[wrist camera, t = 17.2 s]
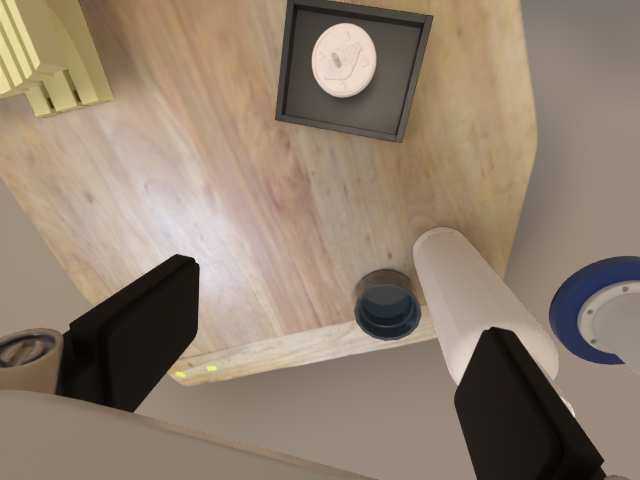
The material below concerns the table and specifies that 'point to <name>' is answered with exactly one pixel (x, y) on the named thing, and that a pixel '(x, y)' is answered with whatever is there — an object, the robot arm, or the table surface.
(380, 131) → the tray
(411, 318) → the bowl
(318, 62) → the smoothie
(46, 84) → the slatted curved stool
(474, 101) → the table surface
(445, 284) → the bottle
